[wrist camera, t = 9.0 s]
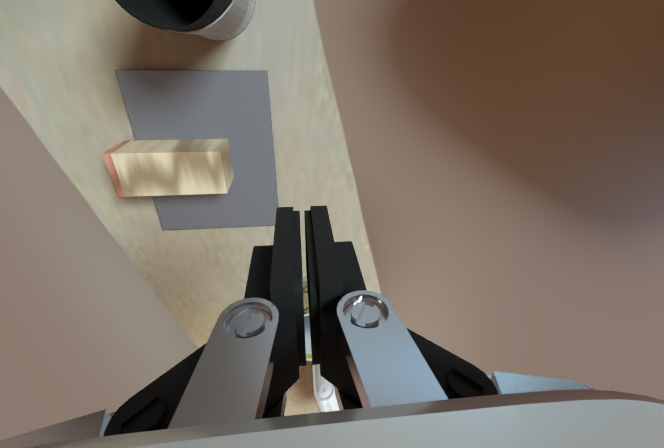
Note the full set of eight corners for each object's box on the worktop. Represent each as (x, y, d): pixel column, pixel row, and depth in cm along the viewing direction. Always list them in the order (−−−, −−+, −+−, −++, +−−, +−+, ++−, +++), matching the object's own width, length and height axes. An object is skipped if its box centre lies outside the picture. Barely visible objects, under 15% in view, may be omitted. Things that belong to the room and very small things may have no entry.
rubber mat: (117, 69, 34) (114, 70, 34) (267, 70, 36) (266, 71, 35) (164, 227, 44) (163, 230, 44) (279, 222, 46) (279, 224, 45)
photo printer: (308, 343, 60) (311, 408, 49) (329, 337, 60) (338, 401, 49) (323, 374, 65) (329, 439, 54) (343, 368, 65) (353, 433, 54)
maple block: (228, 138, 38) (123, 140, 37) (220, 151, 34) (102, 153, 33) (233, 177, 41) (136, 179, 40) (227, 193, 37) (118, 196, 36)
